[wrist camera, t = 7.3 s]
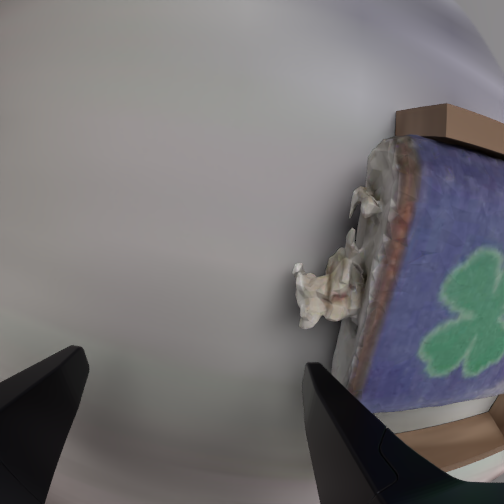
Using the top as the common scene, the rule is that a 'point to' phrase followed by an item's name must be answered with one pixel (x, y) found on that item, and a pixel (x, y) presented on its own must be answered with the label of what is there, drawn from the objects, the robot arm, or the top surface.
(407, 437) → the frame
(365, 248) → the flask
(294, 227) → the top surface
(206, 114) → the top surface
